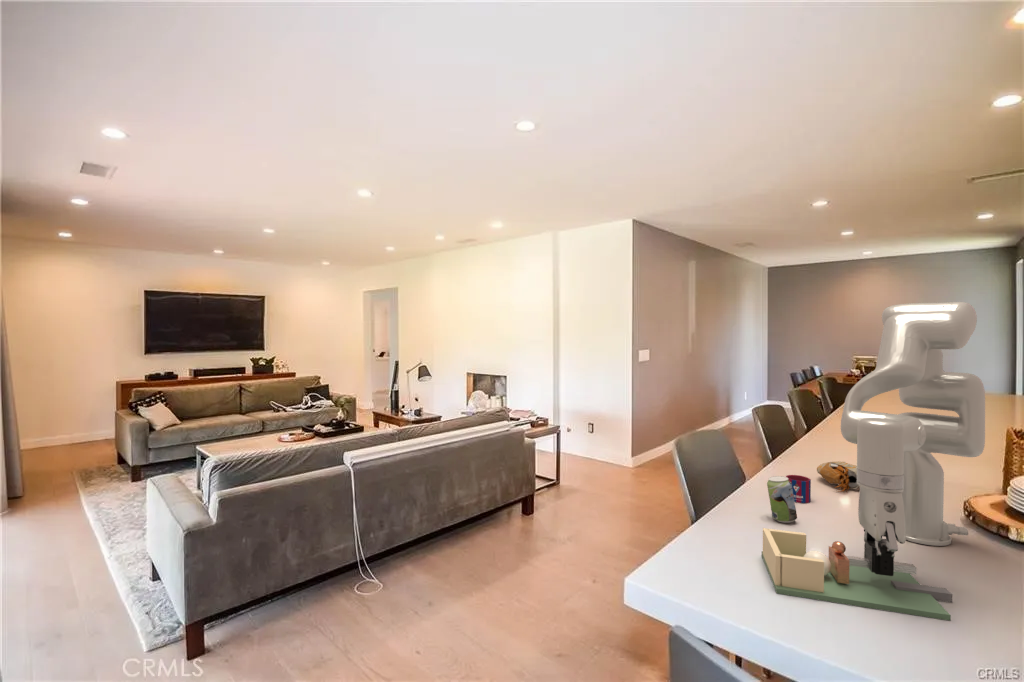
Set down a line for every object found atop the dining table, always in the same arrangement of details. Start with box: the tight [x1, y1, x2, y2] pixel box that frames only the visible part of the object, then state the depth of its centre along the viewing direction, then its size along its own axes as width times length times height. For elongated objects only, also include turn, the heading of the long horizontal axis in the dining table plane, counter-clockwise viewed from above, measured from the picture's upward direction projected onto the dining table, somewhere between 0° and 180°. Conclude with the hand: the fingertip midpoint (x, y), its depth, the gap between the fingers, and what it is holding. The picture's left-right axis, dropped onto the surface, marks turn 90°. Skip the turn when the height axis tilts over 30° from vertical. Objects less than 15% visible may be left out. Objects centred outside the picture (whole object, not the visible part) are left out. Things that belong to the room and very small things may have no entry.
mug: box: [785, 474, 812, 504], centre depth 149 cm, size 7×10×7 cm
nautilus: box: [816, 460, 860, 493], centre depth 160 cm, size 8×22×15 cm
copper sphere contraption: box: [828, 540, 918, 584], centre depth 97 cm, size 14×6×8 cm, turn 71°
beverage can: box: [766, 475, 798, 524], centre depth 131 cm, size 6×7×12 cm
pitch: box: [761, 527, 953, 621], centre depth 98 cm, size 32×17×7 cm, turn 71°
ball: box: [804, 550, 831, 576], centre depth 100 cm, size 5×5×5 cm
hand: (878, 568), depth 96 cm, fingers closed on copper sphere contraption, 3 cm apart
